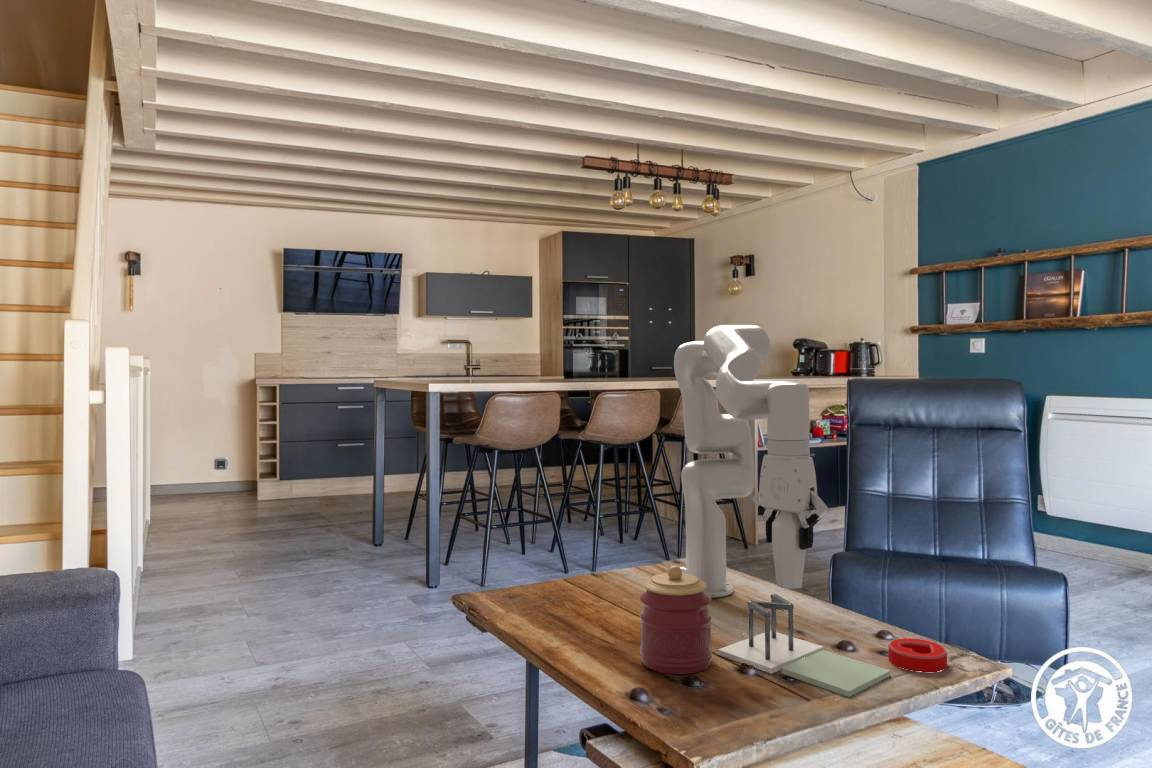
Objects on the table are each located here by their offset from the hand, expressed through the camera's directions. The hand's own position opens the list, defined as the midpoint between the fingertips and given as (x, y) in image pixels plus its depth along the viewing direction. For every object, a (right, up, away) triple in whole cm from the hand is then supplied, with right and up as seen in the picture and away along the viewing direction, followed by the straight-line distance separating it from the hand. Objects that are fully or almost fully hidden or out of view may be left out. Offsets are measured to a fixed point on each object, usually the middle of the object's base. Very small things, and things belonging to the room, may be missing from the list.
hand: (789, 544), depth 142 cm
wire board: (-3, -21, +1) cm, 21 cm away
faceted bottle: (0, -8, 0) cm, 8 cm away
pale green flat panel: (+5, -21, -9) cm, 23 cm away
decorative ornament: (+22, -21, -4) cm, 31 cm away
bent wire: (-3, -21, +1) cm, 21 cm away
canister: (-21, -21, -3) cm, 30 cm away
